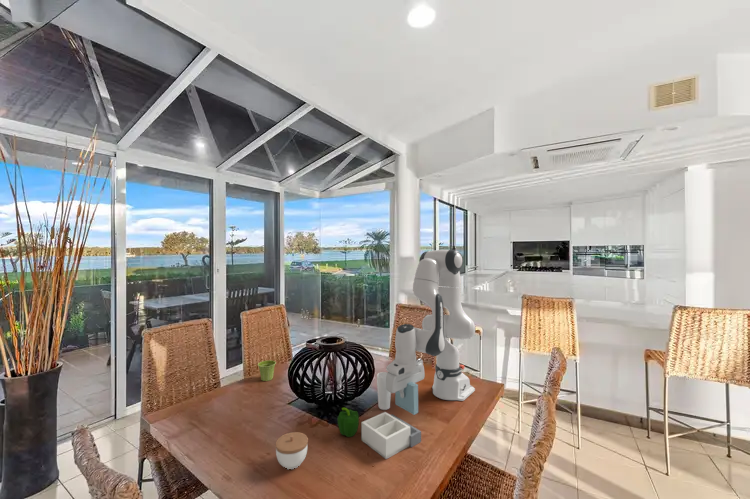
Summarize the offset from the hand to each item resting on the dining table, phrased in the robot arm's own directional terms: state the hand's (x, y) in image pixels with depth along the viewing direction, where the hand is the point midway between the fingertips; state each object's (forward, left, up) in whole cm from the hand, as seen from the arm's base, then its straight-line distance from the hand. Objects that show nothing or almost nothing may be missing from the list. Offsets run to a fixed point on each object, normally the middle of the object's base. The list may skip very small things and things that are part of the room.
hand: (406, 395), depth 140 cm
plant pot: (+30, -77, -10) cm, 83 cm away
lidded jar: (+50, -5, -10) cm, 51 cm away
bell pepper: (+25, -7, -10) cm, 28 cm away
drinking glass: (+1, -13, -10) cm, 17 cm away
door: (0, 0, -6) cm, 6 cm away
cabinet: (+16, +7, -10) cm, 20 cm away
